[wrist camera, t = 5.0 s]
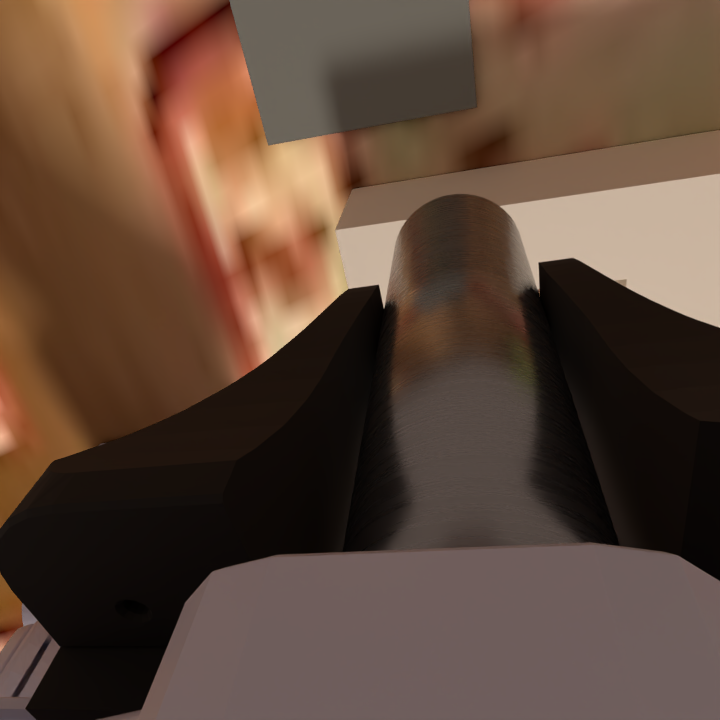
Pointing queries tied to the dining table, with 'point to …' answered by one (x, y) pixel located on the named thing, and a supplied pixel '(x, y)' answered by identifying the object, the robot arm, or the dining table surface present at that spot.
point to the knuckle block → (577, 217)
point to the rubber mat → (354, 62)
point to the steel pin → (470, 400)
